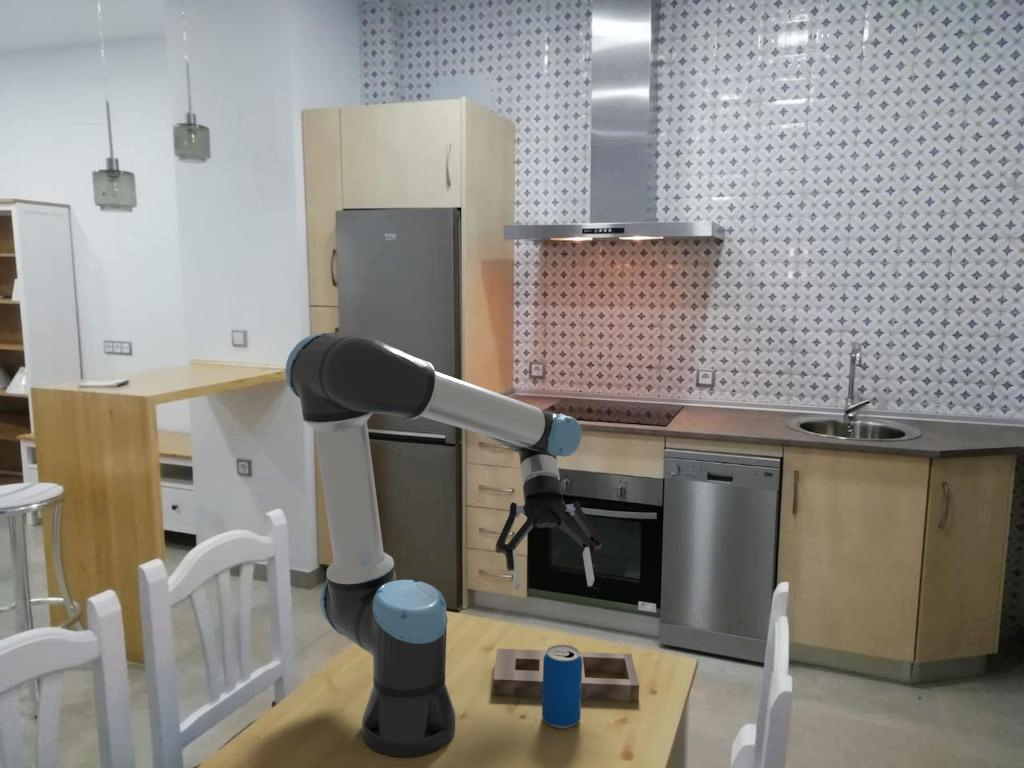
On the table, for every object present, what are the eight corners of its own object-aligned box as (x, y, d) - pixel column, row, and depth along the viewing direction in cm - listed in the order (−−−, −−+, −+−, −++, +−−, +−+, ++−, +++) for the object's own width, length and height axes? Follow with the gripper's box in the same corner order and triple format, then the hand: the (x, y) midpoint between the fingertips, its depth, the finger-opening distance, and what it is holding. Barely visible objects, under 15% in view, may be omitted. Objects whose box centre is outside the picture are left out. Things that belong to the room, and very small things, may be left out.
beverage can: (577, 733, 122) (580, 663, 121) (538, 727, 123) (540, 658, 122) (582, 712, 128) (584, 645, 127) (545, 707, 130) (547, 641, 128)
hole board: (492, 695, 133) (493, 679, 133) (496, 663, 145) (497, 648, 145) (638, 701, 132) (639, 685, 132) (630, 668, 144) (631, 653, 144)
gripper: (598, 491, 152) (616, 590, 139) (477, 494, 149) (484, 596, 136) (606, 471, 146) (625, 573, 133) (480, 474, 143) (487, 579, 130)
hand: (554, 585), depth 135 cm, fingers open, 13 cm apart
